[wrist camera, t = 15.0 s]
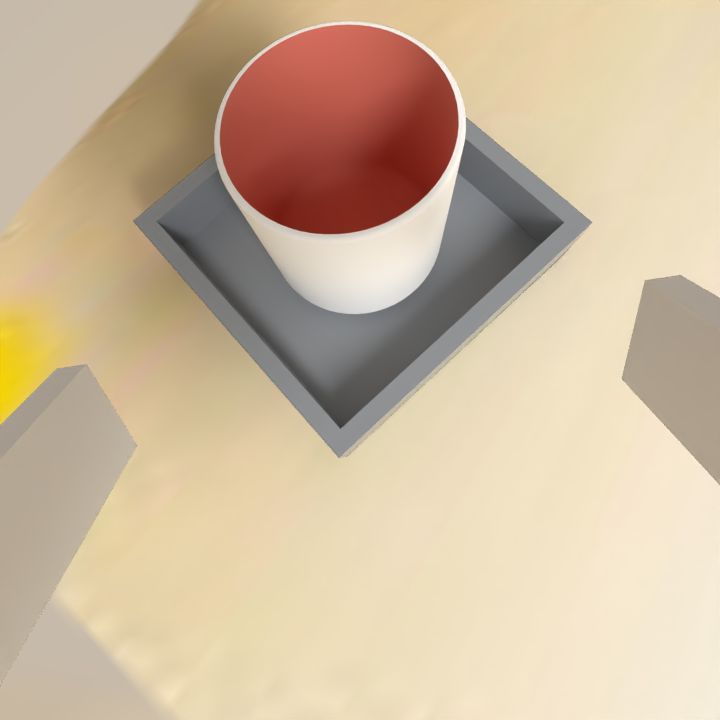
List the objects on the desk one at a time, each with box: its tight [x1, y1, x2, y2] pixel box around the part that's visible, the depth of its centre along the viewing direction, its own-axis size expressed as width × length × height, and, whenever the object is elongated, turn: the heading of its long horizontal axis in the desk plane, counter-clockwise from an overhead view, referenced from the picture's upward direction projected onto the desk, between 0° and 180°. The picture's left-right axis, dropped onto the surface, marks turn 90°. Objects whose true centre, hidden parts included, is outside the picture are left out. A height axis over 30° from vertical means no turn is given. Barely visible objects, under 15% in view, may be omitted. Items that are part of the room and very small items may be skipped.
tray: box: [133, 118, 592, 458], centre depth 25 cm, size 18×18×4 cm
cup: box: [214, 21, 466, 314], centre depth 21 cm, size 10×10×10 cm
